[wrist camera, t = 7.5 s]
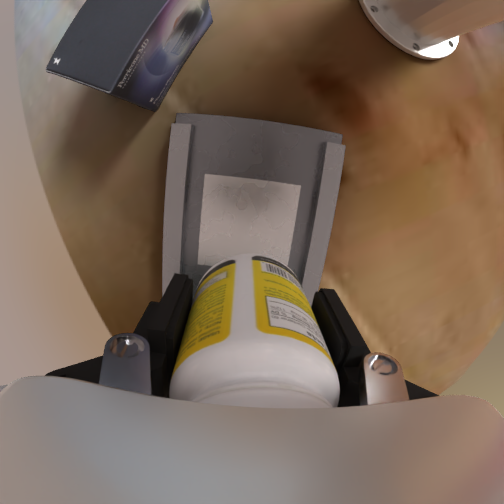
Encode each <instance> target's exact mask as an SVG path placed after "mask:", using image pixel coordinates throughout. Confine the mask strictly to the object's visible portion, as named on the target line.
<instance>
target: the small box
mask: <svg viewBox="0 0 504 504" xmlns="http://www.w3.org/2000/svg"><path fill="white" fill-rule="evenodd" d="M212 22H213V20H212V15H211V11H210V7H209V3H208V0H86V2H85V3H84V5H83V6H82V8H81V9H80V10H79V12H78V14H77V15H76V17H75V18H74V20H73V21H72V23H71V24H70V26H69V28H68V29H67V31H66V32H65V34H64V36H63V38H62V39H61V41H60V43H59V45H58V46H57V48H56V50H55V52H54V54H53V56H52V58H51V59H50V61H49V63H48V65H47V67H46V72H48V73H52V74H55V75H58V76H61V77H64V78H66V79H70V80H72V81H75V82H78V83H81V84H83V85H86V86H89V87H91V88H94V89H97V90H99V91H102V92H105V93H107V94H110V95H113V96H115V97H118V98H120V99H123V100H126V101H128V102H131V103H133V104H136V105H138V106H139V107H142V108H145V109H148V110H151V111H154V112H156V111H157V109H158V108H159V106H160V104H161V102H162V100H163V99H164V97H165V95H166V93H167V92H168V90H169V88H170V86H171V85H172V83H173V81H174V80H175V78H176V76H177V75H178V73H179V71H180V70H181V68H182V67H183V65H184V63H185V62H186V60H187V59H188V57H189V56H190V54H191V53H192V51H193V50H194V48H195V47H196V45H197V44H198V42H199V41H200V39H201V38H202V36H203V35H204V34H205V32H206V31H207V29H208V28H209V27H210V25H211V24H212Z"/></svg>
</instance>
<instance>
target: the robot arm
mask: <svg viewBox="0 0 504 504" xmlns="http://www.w3.org/2000/svg"><path fill="white" fill-rule="evenodd" d="M359 2H360V4H361V7H362V9H363V11H364V13H365V14H366V16H367V17H368V19H369V21H370V22H371V23H372V24H373V25H374V27H375V28H376V29H377V30H378V31H379V32H380V33H381V34H382V35H383V36H384V37H385V38H386V39H387V40H388V41H390V42H391V43H392V44H393V45H395V46H396V47H398V48H399V49H401V50H403V51H404V52H406V53H408V54H411V55H413V56H415V57H418V58H422V59H428V60H435V59H441V58H443V57H447V56H448V55H450V54H451V53H452V52H453V51H454V50H455V49H456V47H457V44H458V41H459V36H460V35H463V34H465V33H468V32H471V31H474V30H476V29H479V28H482V27H485V26H488V25H491V24H494V23H497V22H501V21H504V0H359ZM192 301H193V279H189V276H188V275H185V274H177V273H175V274H174V276H173V277H172V279H171V281H170V283H169V285H168V287H167V289H166V291H165V293H164V295H163V297H162V299H161V301H160V303H159V302H150V303H149V305H148V307H147V309H146V310H145V312H144V314H143V316H142V318H141V320H140V321H139V323H138V325H137V327H136V329H135V331H134V333H122V334H118V335H115V336H113V337H111V338H110V339H109V340H108V341H107V343H106V345H105V349H104V354H103V356H100V357H97V358H94V359H91V360H87V361H84V362H81V363H78V364H75V365H71V366H68V367H65V368H61V369H58V370H55V371H52V372H50V373H48V374H46V375H45V376H30V377H24V378H20V379H17V380H15V381H13V382H12V383H10V384H9V385H4V386H0V504H504V418H503V417H502V416H501V414H500V413H499V412H498V411H497V410H496V409H495V408H494V407H493V405H491V404H490V403H489V402H488V401H486V400H484V399H481V398H477V397H472V396H466V395H447V396H439V395H437V394H434V393H432V392H430V391H428V390H426V389H424V388H421V387H419V386H417V385H415V384H413V383H411V382H409V381H407V380H405V379H404V376H403V372H402V368H401V366H400V364H399V362H398V361H397V360H396V359H394V358H393V357H392V356H389V355H387V354H384V353H377V352H375V353H371V352H370V350H369V349H368V347H367V345H366V343H365V341H364V340H363V338H362V336H361V334H360V333H359V331H358V329H357V327H356V326H355V324H354V322H353V320H352V319H351V317H350V315H349V314H348V312H347V310H346V308H345V307H344V305H343V303H342V302H341V300H340V298H339V297H338V295H337V293H336V292H335V290H334V289H323V288H321V289H320V290H319V292H317V291H316V292H315V294H314V298H313V302H312V306H311V309H312V312H313V314H314V316H315V319H316V321H317V324H318V326H319V329H320V331H321V334H322V336H323V339H324V341H325V344H326V346H327V349H328V351H329V353H330V356H331V359H332V361H333V364H334V366H335V369H336V371H337V375H338V379H339V384H340V397H339V402H338V406H337V407H334V408H259V407H242V406H229V405H218V404H209V403H200V402H192V401H185V400H178V399H171V398H170V397H169V390H170V382H171V378H172V374H173V370H174V367H175V363H176V359H177V355H178V352H179V348H180V345H181V341H182V337H183V334H184V330H185V327H186V323H187V320H188V316H189V313H190V310H191V306H192Z"/></svg>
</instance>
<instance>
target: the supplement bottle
mask: <svg viewBox="0 0 504 504" xmlns="http://www.w3.org/2000/svg"><path fill="white" fill-rule="evenodd" d="M169 397H170V398H171V399H178V400H185V401H192V402H200V403H209V404H218V405H229V406H242V407H259V408H334V407H337V406H338V402H339V397H340V384H339V379H338V375H337V371H336V369H335V366H334V364H333V361H332V359H331V356H330V353H329V351H328V349H327V346H326V344H325V341H324V339H323V336H322V334H321V331H320V329H319V326H318V324H317V321H316V319H315V316H314V314H313V312H312V309H311V307H310V304H309V302H308V300H307V297H306V295H305V293H304V290H303V288H302V285H301V283H300V281H299V280H298V278H297V276H296V275H295V274H294V272H293V271H292V270H291V269H290V268H289V267H288V266H286V265H285V264H284V263H282V262H281V261H279V260H277V259H275V258H273V257H270V256H267V255H263V254H255V253H247V254H239V255H235V256H231V257H228V258H226V259H224V260H222V261H220V262H218V263H216V264H215V265H214V266H212V267H211V268H210V269H209V270H208V271H207V272H206V273H205V275H204V276H203V277H202V279H201V281H200V282H199V285H198V287H197V290H196V293H195V296H194V300H193V303H192V306H191V310H190V313H189V316H188V320H187V323H186V327H185V330H184V334H183V337H182V341H181V345H180V348H179V352H178V355H177V359H176V363H175V367H174V370H173V374H172V378H171V382H170V390H169Z"/></svg>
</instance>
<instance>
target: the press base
mask: <svg viewBox="0 0 504 504" xmlns="http://www.w3.org/2000/svg"><path fill="white" fill-rule="evenodd" d="M342 136H343V135H342V134H338V133H333V132H329V131H324V130H319V129H314V128H308V127H303V126H297V125H291V124H285V123H278V122H272V121H264V120H257V119H248V118H240V117H230V116H219V115H206V114H189V113H177V114H176V122H175V123H172V126H171V134H170V143H169V153H168V164H167V176H166V189H165V205H164V226H163V261H162V297H163V295H164V293H165V291H166V289H167V287H168V285H169V283H170V281H171V279H172V277H173V276H174V274H175V273H177V274H185V275H188V276H189V279H193V300H194V296H195V293H196V290H197V287H198V285H199V282H200V281H201V279H202V277H203V276H204V275H205V273H206V272H207V271H208V270H209V269H210V268H211V267H212V266H214V265H215V264H216V263H218V262H220V261H222V260H224V259H226V258H228V257H231V256H235V255H239V254H247V253H255V254H263V255H267V256H270V257H273V258H275V259H277V260H279V261H281V262H282V263H284V264H285V265H286V266H288V267H289V268H290V269H291V270H292V271H293V272H294V274H295V275H296V276H297V278H298V280H299V281H300V283H301V285H302V288H303V290H304V293H305V295H306V297H307V300H308V302H309V304H310V307H311V306H312V302H313V298H314V294H315V292H316V291H317V292H318V289H319V284H320V280H321V276H322V271H323V267H324V262H325V258H326V253H327V249H328V244H329V239H330V234H331V229H332V224H333V219H334V213H335V208H336V203H337V197H338V191H339V185H340V179H341V173H342V167H343V161H344V154H345V147H346V146H345V145H341V143H342ZM192 303H193V301H192Z"/></svg>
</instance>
